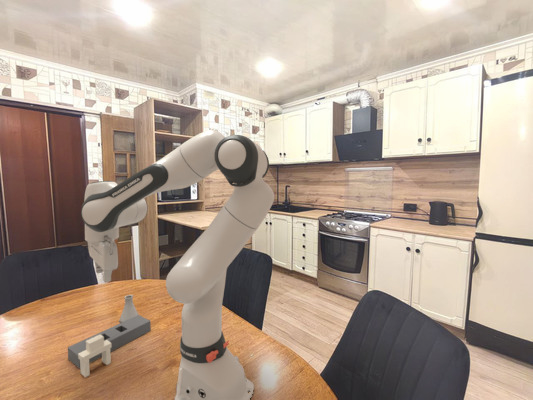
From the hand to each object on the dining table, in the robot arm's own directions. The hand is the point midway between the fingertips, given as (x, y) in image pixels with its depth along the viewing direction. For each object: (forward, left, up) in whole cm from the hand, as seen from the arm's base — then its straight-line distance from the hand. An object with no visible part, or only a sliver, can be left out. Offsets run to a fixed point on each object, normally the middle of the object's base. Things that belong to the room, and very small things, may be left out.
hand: (103, 276), depth 79 cm
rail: (+8, -6, -28) cm, 30 cm away
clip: (0, +3, -28) cm, 28 cm away
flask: (+19, -18, -28) cm, 39 cm away
